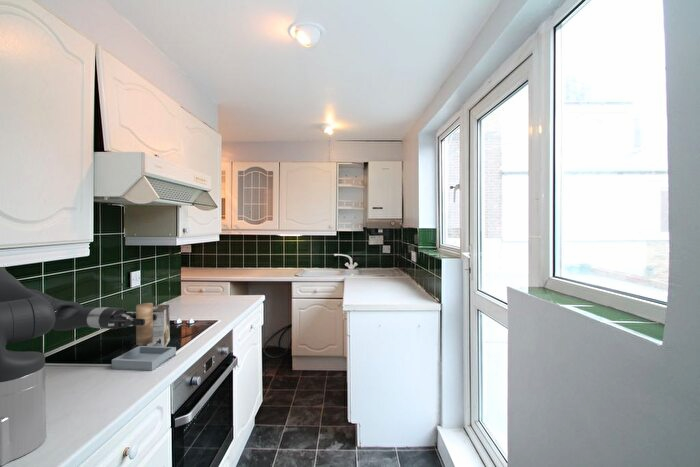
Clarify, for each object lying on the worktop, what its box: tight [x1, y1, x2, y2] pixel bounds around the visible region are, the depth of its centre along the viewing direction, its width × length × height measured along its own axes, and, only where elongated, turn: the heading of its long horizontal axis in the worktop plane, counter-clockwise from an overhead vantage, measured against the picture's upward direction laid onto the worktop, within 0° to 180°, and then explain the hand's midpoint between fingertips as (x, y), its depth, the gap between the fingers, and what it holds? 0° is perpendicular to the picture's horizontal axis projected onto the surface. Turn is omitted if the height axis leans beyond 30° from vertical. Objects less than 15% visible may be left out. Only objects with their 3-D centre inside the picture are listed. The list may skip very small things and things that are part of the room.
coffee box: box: [146, 304, 171, 347], centre depth 119 cm, size 9×6×16 cm
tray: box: [111, 345, 177, 372], centre depth 105 cm, size 12×15×3 cm
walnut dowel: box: [135, 302, 154, 346], centre depth 105 cm, size 5×5×14 cm
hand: (150, 319), depth 105 cm, fingers closed on walnut dowel, 5 cm apart
